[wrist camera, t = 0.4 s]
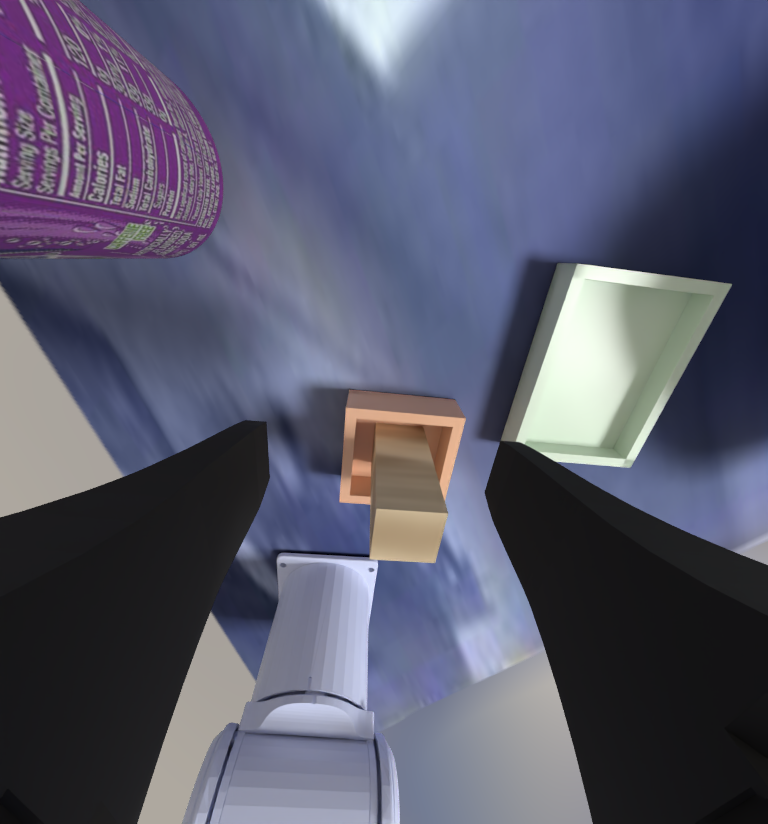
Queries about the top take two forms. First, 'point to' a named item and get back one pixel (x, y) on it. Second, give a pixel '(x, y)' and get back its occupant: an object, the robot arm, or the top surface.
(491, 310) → the top surface
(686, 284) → the tray
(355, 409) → the orange open box
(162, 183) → the beverage can
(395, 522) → the beech pin
